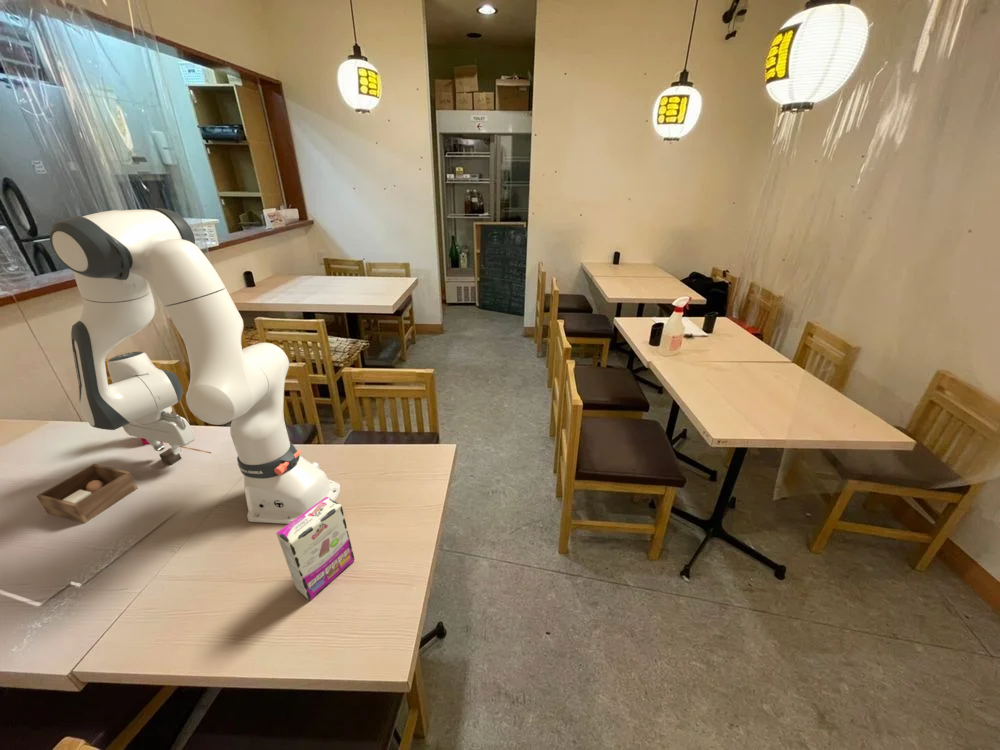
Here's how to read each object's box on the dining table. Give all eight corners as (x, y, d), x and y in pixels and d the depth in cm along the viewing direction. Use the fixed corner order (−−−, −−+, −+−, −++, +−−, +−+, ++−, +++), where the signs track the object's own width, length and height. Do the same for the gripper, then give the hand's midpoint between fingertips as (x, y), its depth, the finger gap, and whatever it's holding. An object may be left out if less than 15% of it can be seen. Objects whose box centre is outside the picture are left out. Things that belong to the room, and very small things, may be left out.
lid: (212, 455, 118) (207, 442, 116) (170, 484, 107) (164, 471, 105) (177, 448, 121) (172, 435, 119) (133, 476, 110) (126, 462, 108)
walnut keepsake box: (139, 489, 104) (129, 472, 101) (86, 524, 93) (74, 505, 91) (104, 481, 106) (94, 463, 104) (48, 514, 96) (36, 496, 93)
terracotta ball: (109, 488, 103) (103, 478, 102) (95, 496, 101) (89, 487, 99) (99, 485, 104) (94, 476, 103) (85, 494, 101) (80, 484, 100)
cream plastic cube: (97, 503, 99) (90, 492, 97) (80, 513, 95) (73, 502, 94) (86, 500, 99) (79, 489, 98) (69, 510, 96) (62, 499, 95)
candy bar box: (340, 550, 88) (327, 494, 81) (355, 560, 86) (343, 504, 79) (293, 589, 80) (274, 531, 72) (309, 602, 78) (290, 543, 70)
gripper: (192, 409, 106) (208, 450, 112) (132, 398, 111) (151, 439, 117) (169, 421, 101) (187, 464, 107) (107, 410, 105) (128, 452, 111)
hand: (168, 451), depth 112 cm, fingers open, 4 cm apart
